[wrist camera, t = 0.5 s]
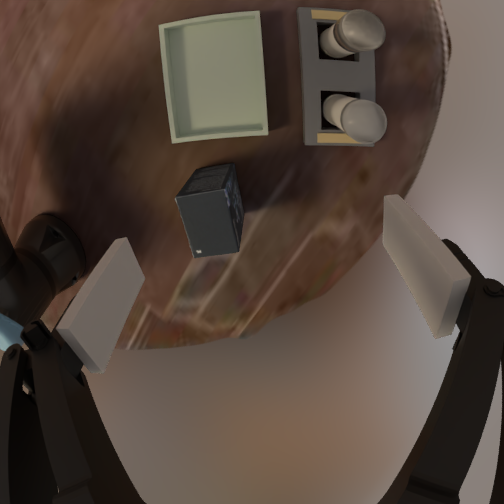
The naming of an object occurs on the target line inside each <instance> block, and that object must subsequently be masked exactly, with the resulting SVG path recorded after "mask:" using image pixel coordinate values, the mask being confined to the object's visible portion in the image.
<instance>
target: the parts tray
mask: <svg viewBox="0 0 504 504" xmlns="http://www.w3.org/2000/svg"><path fill="white" fill-rule="evenodd" d="M159 35H160V47H161V57H162V67H163V77H164V86H165V94H166V102H167V110H168V118H169V125H170V132H171V139H172V144H173V143H180V142H188V141H197V140H206V139H217V138H228V137H242V136H258V135H268V121H267V105H266V89H265V75H264V61H263V48H262V35H261V23H260V11H247V12H235V13H226V14H217V15H210V16H203V17H197V18H191V19H186V20H180V21H176V22H171V23H166V24H162V25H159Z"/></svg>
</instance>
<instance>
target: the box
mask: <svg viewBox="0 0 504 504" xmlns="http://www.w3.org/2000/svg"><path fill="white" fill-rule="evenodd" d="M175 200H176V203H177V205H178V208H179V211H180V215H181V218H182V221H183V224H184V227H185V230H186V234H187V237H188V240H189V243H190V247H191V250H192V254H193V257H194V258H199V257H206V256H214V255H222V254H230V253H236V252H239V248H240V242H241V235H242V227H243V220H244V209H243V204H242V199H241V194H240V190H239V184H238V180H237V174H236V169H235V164H234V163H230V164H224V165H218V166H212V167H206V168H201V169H196V170H195V171H194V173H193V174H192V175H191V177H190V178H189V179H188V181H187V182H186V184H185V185H184V186H183V188H182V189H181V190H180V192H179V193H178V195H177V196H176V197H175Z"/></svg>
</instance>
